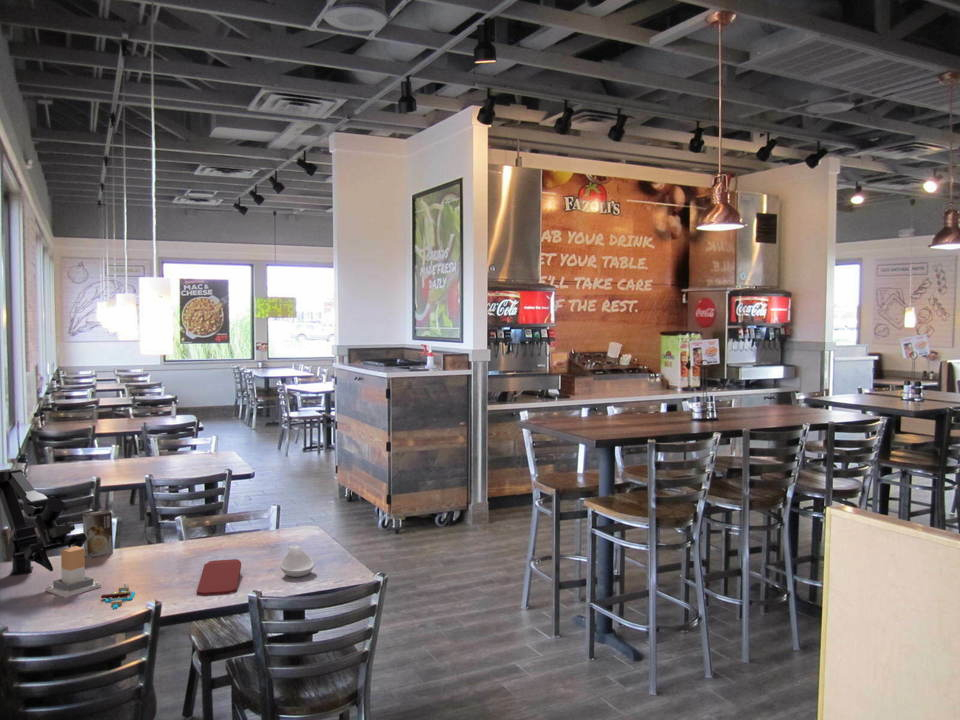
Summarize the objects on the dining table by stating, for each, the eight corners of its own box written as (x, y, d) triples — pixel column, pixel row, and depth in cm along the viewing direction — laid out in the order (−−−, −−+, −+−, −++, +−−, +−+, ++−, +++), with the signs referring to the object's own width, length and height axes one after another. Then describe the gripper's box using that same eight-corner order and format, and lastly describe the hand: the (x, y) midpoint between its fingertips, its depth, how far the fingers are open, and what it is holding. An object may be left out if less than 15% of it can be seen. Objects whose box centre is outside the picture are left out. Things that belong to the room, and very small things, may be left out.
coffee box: (109, 549, 290) (108, 509, 290) (113, 553, 285) (112, 512, 285) (83, 554, 284) (82, 513, 284) (86, 558, 279) (86, 516, 279)
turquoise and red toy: (95, 612, 227) (128, 609, 229) (95, 595, 226) (128, 592, 229) (107, 590, 246) (138, 587, 249) (107, 574, 246) (138, 571, 248)
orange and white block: (61, 586, 245) (61, 549, 245) (76, 582, 249) (76, 545, 249) (70, 589, 243) (69, 552, 242) (85, 584, 247) (84, 548, 246)
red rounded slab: (236, 604, 243) (242, 568, 268) (235, 590, 242) (242, 556, 267) (196, 607, 240) (206, 571, 265) (196, 593, 240) (206, 558, 264)
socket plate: (45, 590, 244) (45, 581, 244) (81, 580, 254) (80, 571, 254) (65, 597, 238) (65, 588, 238) (101, 586, 248) (101, 577, 248)
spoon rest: (316, 578, 258) (316, 558, 258) (281, 582, 254) (281, 561, 254) (308, 558, 280) (308, 540, 280) (276, 562, 276) (276, 543, 276)
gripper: (28, 521, 242) (46, 560, 237) (84, 509, 258) (102, 546, 253) (16, 540, 247) (33, 579, 241) (71, 528, 263) (89, 564, 257)
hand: (66, 567), depth 248 cm, fingers open, 9 cm apart
